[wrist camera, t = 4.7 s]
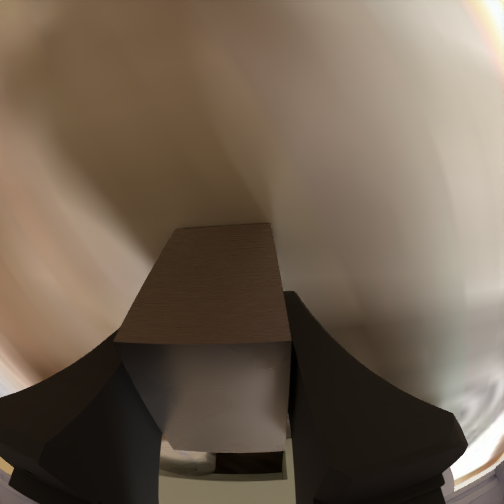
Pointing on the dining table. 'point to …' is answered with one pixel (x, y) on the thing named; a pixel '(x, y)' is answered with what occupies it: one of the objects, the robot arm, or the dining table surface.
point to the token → (186, 461)
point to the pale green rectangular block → (231, 486)
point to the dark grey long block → (213, 341)
